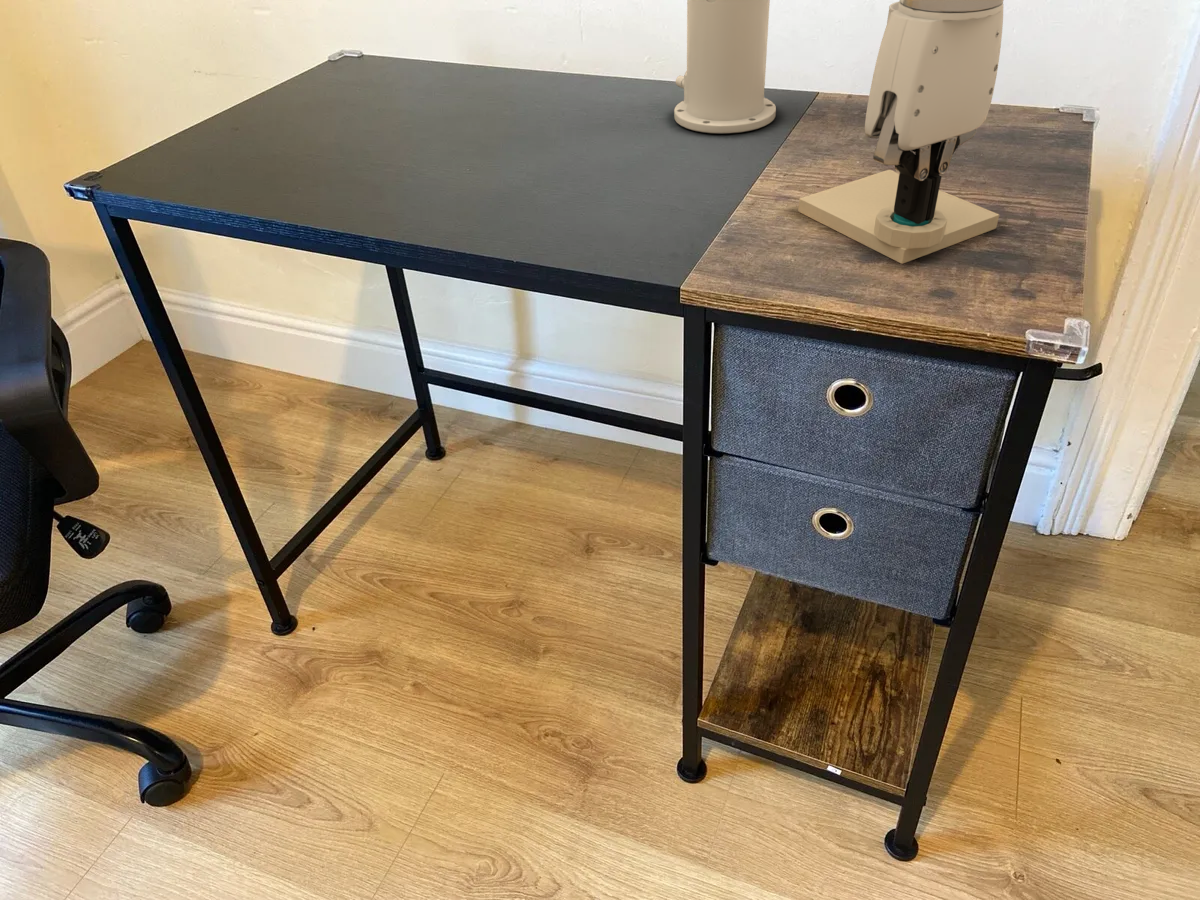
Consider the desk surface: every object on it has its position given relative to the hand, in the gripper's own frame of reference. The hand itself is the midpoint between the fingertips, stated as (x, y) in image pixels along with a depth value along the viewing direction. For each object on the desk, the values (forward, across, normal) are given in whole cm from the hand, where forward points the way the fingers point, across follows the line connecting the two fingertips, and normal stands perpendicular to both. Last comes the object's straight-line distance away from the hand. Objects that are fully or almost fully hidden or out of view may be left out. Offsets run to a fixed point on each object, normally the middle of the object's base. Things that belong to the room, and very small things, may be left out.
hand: (913, 216), depth 78 cm
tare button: (+2, 0, 0) cm, 2 cm away
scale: (+3, -4, -5) cm, 7 cm away
